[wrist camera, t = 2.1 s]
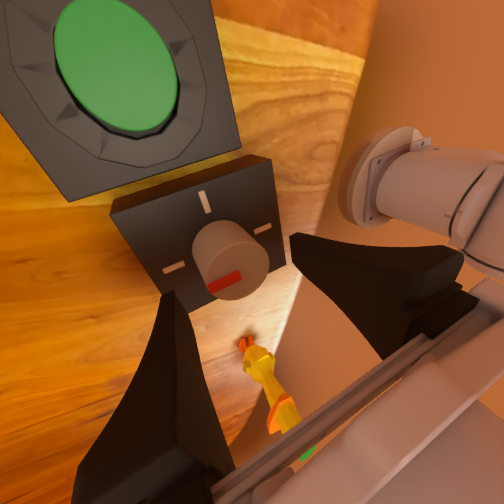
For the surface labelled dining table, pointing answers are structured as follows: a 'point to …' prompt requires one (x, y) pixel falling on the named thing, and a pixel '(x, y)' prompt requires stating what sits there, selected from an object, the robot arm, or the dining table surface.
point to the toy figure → (271, 388)
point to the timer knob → (229, 260)
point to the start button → (115, 64)
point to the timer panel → (199, 222)
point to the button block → (95, 130)
